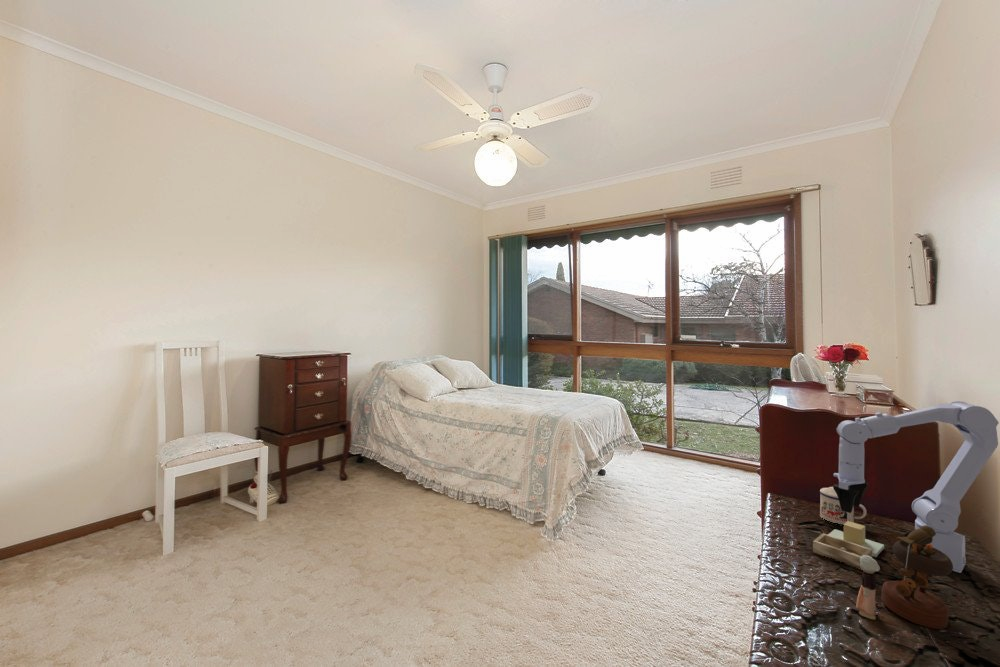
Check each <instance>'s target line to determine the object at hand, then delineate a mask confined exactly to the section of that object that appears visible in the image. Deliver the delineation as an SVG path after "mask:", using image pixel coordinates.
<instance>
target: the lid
mask: <svg viewBox="0 0 1000 667" xmlns="http://www.w3.org/2000/svg"><path fill="white" fill-rule="evenodd" d="M827 535H830V536H833V537H836V538H839V539H842V540H845V541H848V542H851V543H854V544H857V545H860V546H863V547H866V548H869V549H872V557H874V558H877V557H878V556H879V554H881V553H882V551H884V549H885V544H882V543H880V542H876V541H873V540H870V539H867V538H866V525H863V524H860V523H857V522H854V523H853V522H850V521H847V522H846V523H845V524H844V526H843V531H842V530H839V529H836V528H835V529H833V530H832V531H831V532H829V533H828V534H827Z"/></svg>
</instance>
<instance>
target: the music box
mask: <svg viewBox="0 0 1000 667" xmlns="http://www.w3.org/2000/svg"><path fill="white" fill-rule="evenodd" d="M935 535H936V533H935V531H934V529H932V528H931V527H929V526H922V527H921V528H920V529H916V530H915V528H911V529H909V530H907V531H905V532H904V533H902V535H901V536H897V537H896V538H897V539H898V540H897V541H895V542H894V543H893V545H892V552H893V555H894V557H895V558H896V559H897V560H898V561H899V562H900V563H902V564H903V565H905V567H900V569H899V575H901V576H903V577H904V578H903V579H901V580H889V581H885V582H883V584H882V590H881V597H880V599H881V602H882V604H884V605H885V606H886V607H887V608H888V609H889V610H890V611H892V612H893V613H894V614H896V615H898V616H900V617H901V618H903V619H905V620H908V621H910V622H912V623H914V624H917V625H919V626H922V627H926V628H931V629H935V630H936V629H937V630H941V629H946V628H947V627H948V624H949V616H950V608H949V606H948V605H947V604H945V602H944V601H943V600H942V599H941V598H939V597H938V596H937V595H935V594H934V593H932V592H930V591H928V590H927V587H929V581H928V580H929V579H932V578H933V577H946V576H948V575H950V574H951V573H952V572H953V571H952V570H953V564H952V562H951V560H950V559H949V557H948V556H947V555H946V554H944V553H943V552H941V551H939V550H937V549H935V548H933V547H932V545H930V543H931V542H932V540H933V539H932V537H934V536H935ZM927 544H928V545H927ZM908 576H909V577H908ZM906 577H907V578H906Z"/></svg>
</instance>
